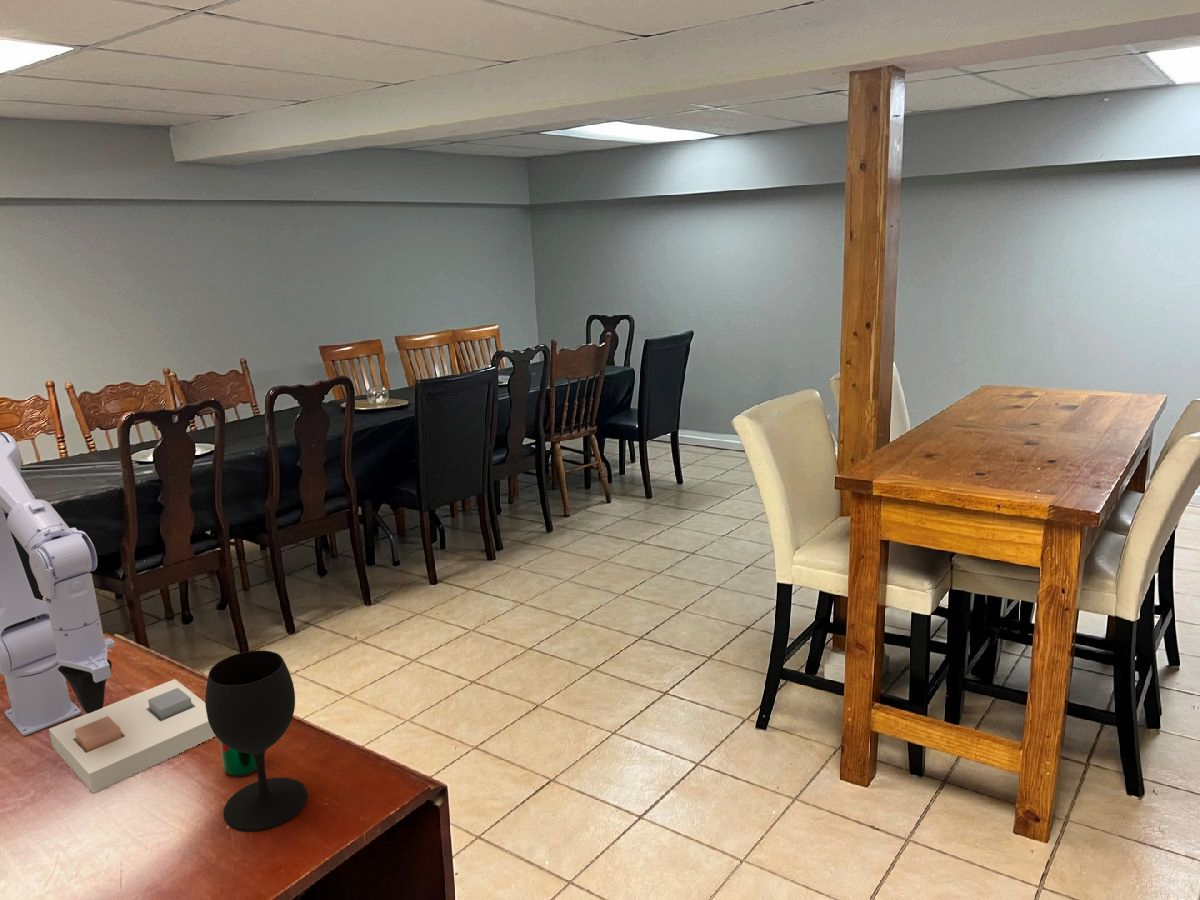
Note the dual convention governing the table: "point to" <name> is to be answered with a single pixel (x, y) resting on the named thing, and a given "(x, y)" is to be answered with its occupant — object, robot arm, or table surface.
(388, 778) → the table surface
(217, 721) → the wine glass
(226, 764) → the soda can
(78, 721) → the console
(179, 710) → the slate key
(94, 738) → the terracotta key
